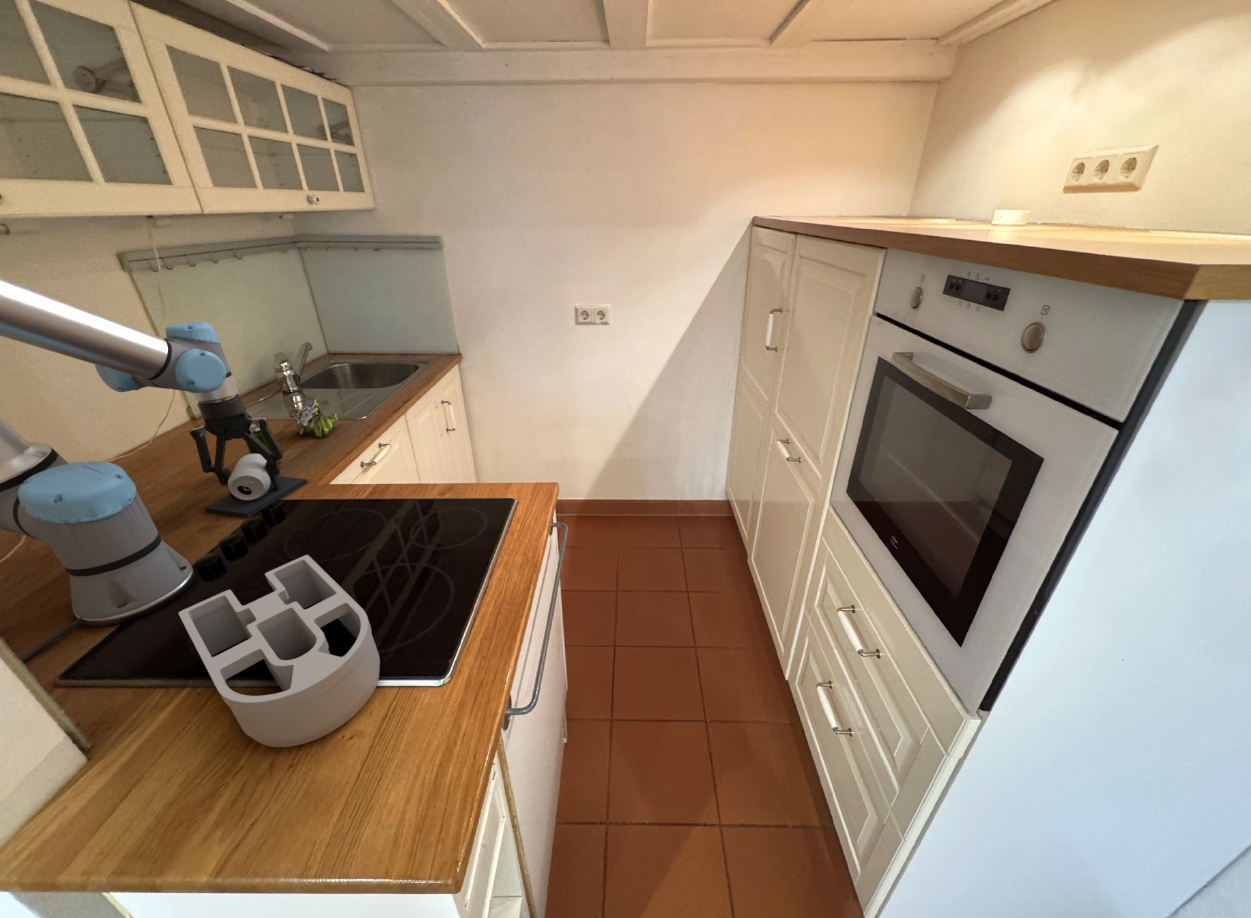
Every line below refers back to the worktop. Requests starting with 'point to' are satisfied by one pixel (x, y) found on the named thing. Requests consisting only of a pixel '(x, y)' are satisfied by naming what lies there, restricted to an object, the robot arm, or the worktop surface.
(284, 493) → the mat
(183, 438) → the worktop surface
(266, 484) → the can
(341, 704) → the desk organizer caddy
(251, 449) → the beer can
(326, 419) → the purple flowering plant
